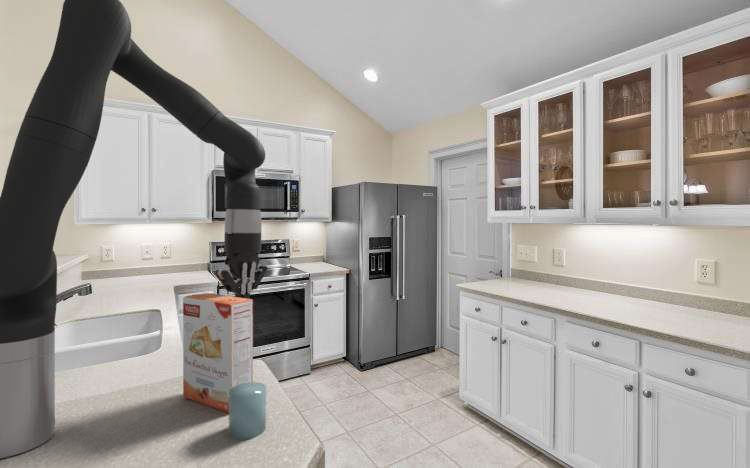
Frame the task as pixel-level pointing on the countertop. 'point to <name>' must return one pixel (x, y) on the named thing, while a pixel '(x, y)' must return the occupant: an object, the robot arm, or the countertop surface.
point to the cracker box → (216, 347)
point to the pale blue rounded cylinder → (247, 410)
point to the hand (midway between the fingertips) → (242, 310)
